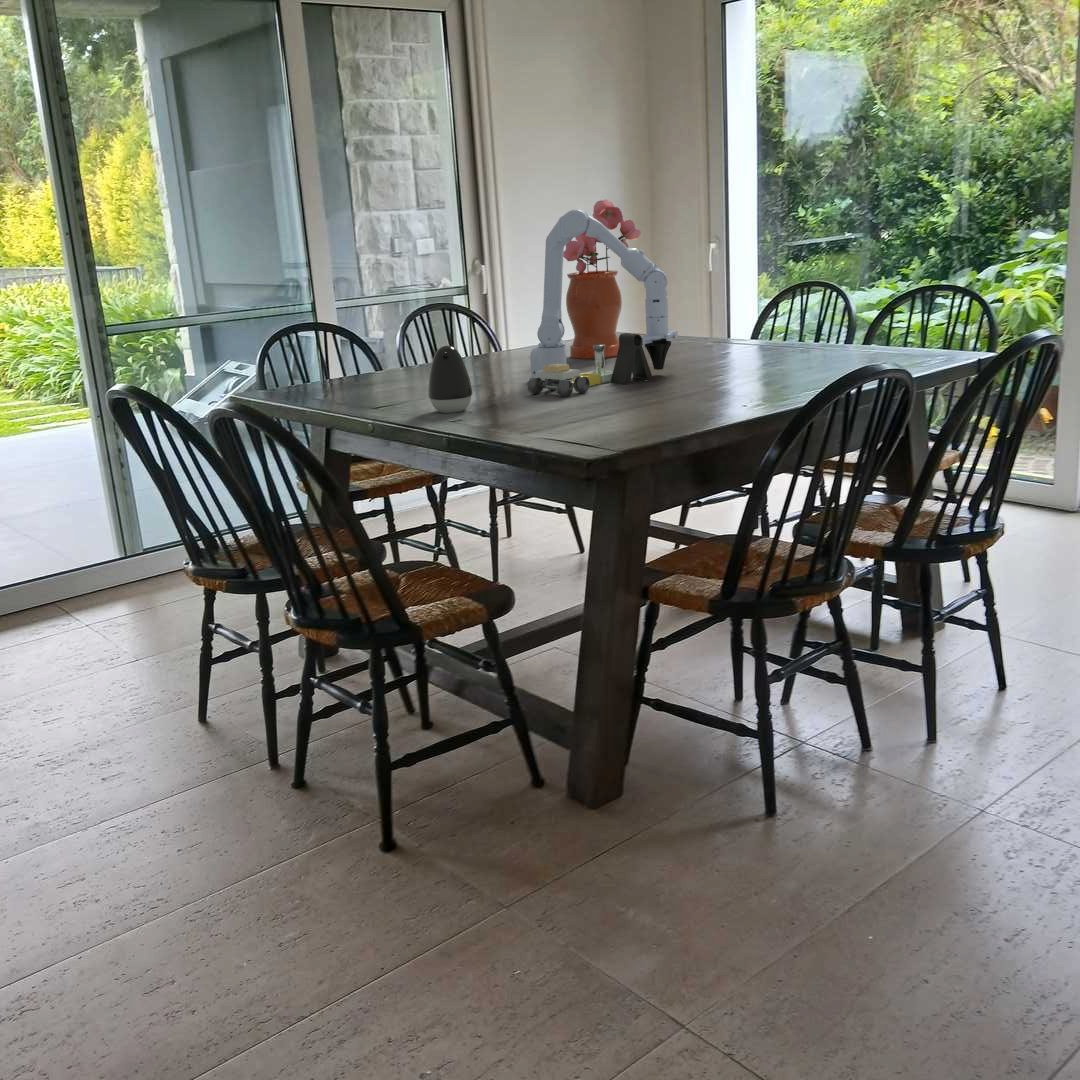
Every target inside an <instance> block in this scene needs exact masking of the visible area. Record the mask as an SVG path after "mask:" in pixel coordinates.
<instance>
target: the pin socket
mask: <svg viewBox="0 0 1080 1080" xmlns="http://www.w3.org/2000/svg"><path fill="white" fill-rule="evenodd" d="M580 376H584V377H587V378H588V379H589V384H590V385H589V387H592V386H596V384H597V385H600V384H602V383H601V382H600V374H595V373H586V372H582V373H580ZM576 378H577V377H574V378H572V382H574V381H575V379H576Z"/></svg>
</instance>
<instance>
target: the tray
mask: <svg viewBox="0 0 1080 1080" xmlns="http://www.w3.org/2000/svg"><path fill="white" fill-rule="evenodd" d="M585 373H595V374H596V369H595V370H590V371H587V372H585ZM612 374H613V370H605V375H600V382H601V384H607V383H612V382H611V378H612Z"/></svg>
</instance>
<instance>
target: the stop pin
mask: <svg viewBox="0 0 1080 1080" xmlns="http://www.w3.org/2000/svg"><path fill="white" fill-rule="evenodd" d="M593 349H595V359H594V364H595V365H594V366H595V370H596V374H600V375H605V371H606V369H605V368H606V367H605V366H606V365H605V358H604V349H605V345H593Z"/></svg>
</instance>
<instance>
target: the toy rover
mask: <svg viewBox="0 0 1080 1080" xmlns="http://www.w3.org/2000/svg"><path fill="white" fill-rule="evenodd" d="M580 374H581V372H580V369H574V368H573V369H572V368H570V364H568V363H567V364H555V363H554V364H549V365H544V366H543V370H540V371H536V378H534V377H533V378H532V377H530V378H531V379H529V380H528V382H527V390H528V392H529V393H530V394H533V395H540V394H542V392H543V389H546V390H548V391H557V394H558V395H559V397H562V398H563V397H564V398H569V397H571V395H572V393H573V391H575V392H577V393H578V394H585V393H587V392H588V391H589V389H590V386H589V385H590V384H589V379H588V378H587V377H584V376H580ZM574 377H577V378H576V379H575V381H574V382H573V381H570V380H569V379H573V378H574ZM540 378H545V381H542V380H541V379H540Z"/></svg>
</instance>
